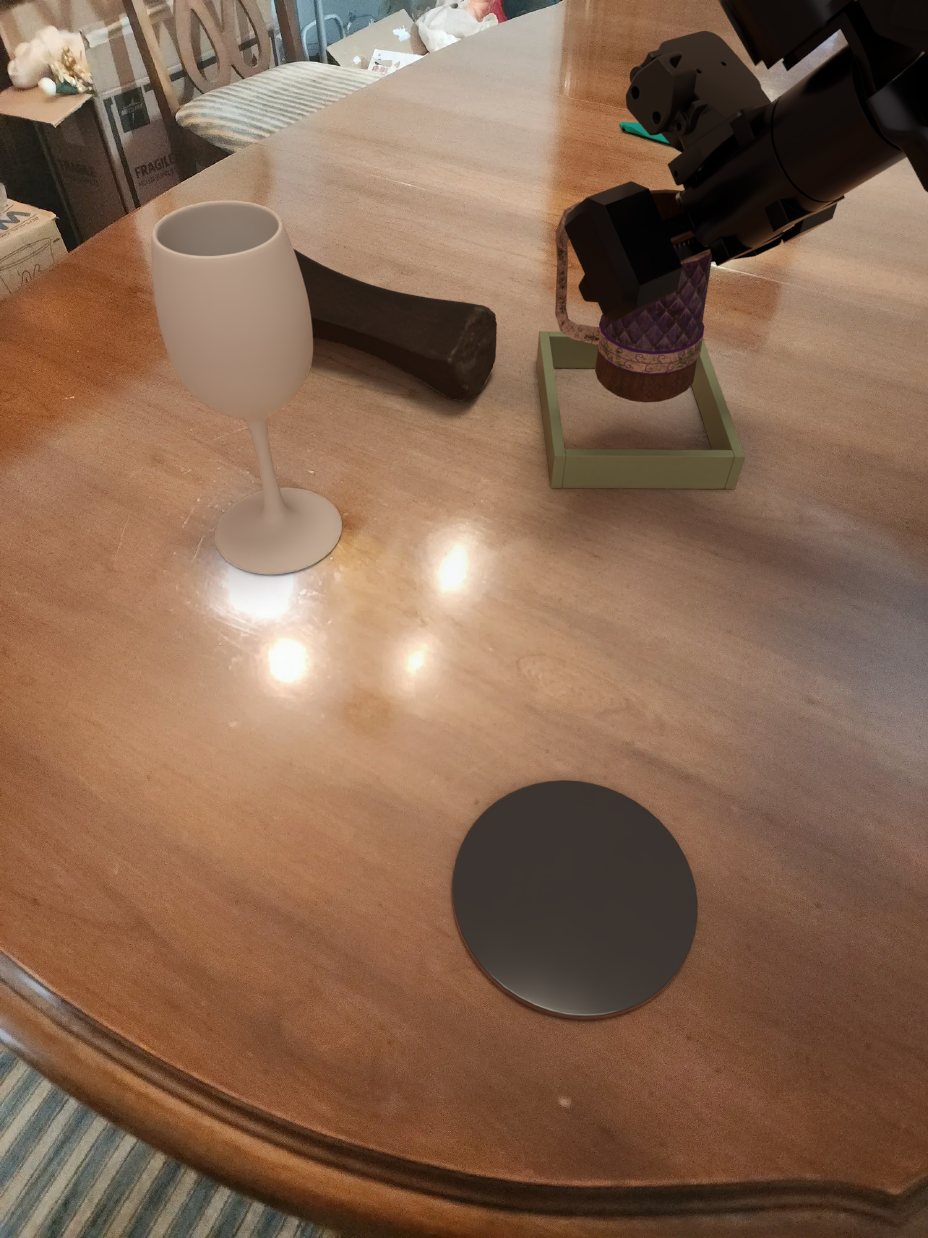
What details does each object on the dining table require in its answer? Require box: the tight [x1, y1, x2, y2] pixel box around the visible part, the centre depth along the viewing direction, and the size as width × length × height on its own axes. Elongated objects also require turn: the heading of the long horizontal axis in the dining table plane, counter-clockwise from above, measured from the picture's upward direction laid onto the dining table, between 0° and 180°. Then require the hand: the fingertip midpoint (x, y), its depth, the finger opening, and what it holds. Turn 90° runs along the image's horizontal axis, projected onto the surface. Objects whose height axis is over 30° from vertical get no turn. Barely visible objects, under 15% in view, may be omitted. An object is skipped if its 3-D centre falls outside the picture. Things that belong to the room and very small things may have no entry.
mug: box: [554, 188, 713, 404], centre depth 56 cm, size 10×7×12 cm
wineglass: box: [150, 199, 343, 576], centre depth 51 cm, size 9×9×21 cm
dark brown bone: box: [293, 247, 498, 402], centre depth 71 cm, size 11×10×28 cm
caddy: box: [535, 330, 746, 490], centre depth 67 cm, size 14×17×3 cm
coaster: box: [451, 779, 699, 1021], centre depth 42 cm, size 12×12×1 cm
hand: (621, 276), depth 56 cm, fingers closed on mug, 7 cm apart
